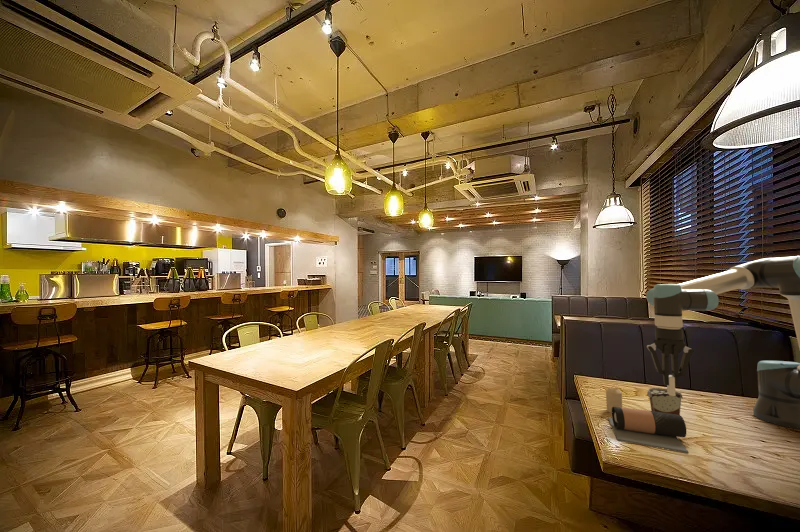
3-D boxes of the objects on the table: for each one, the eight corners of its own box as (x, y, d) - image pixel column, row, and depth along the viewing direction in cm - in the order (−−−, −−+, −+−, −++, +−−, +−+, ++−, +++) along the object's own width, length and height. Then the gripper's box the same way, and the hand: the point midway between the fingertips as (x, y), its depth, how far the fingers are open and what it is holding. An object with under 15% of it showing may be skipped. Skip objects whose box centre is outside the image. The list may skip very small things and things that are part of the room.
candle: (620, 410, 132) (620, 386, 132) (624, 415, 127) (623, 391, 127) (605, 408, 134) (604, 385, 134) (608, 413, 129) (607, 389, 129)
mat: (668, 428, 116) (668, 427, 116) (688, 453, 99) (688, 451, 99) (608, 419, 124) (608, 417, 124) (617, 440, 108) (617, 438, 108)
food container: (671, 411, 130) (670, 387, 130) (683, 418, 124) (682, 393, 124) (640, 410, 131) (639, 387, 132) (650, 417, 125) (649, 392, 125)
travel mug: (675, 415, 113) (610, 407, 121) (683, 413, 107) (614, 405, 115) (680, 438, 110) (613, 429, 117) (689, 438, 103) (618, 428, 111)
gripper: (688, 327, 110) (691, 393, 109) (642, 324, 116) (645, 388, 115) (697, 330, 103) (700, 401, 102) (648, 327, 109) (651, 395, 108)
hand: (671, 394), depth 109 cm, fingers closed
